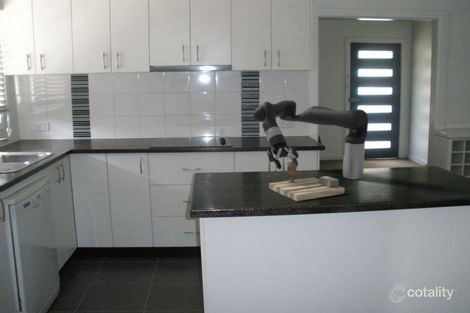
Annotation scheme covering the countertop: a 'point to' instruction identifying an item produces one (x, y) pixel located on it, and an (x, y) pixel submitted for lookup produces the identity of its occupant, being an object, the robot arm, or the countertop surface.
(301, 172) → the countertop surface
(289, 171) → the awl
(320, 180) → the block
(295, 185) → the board
